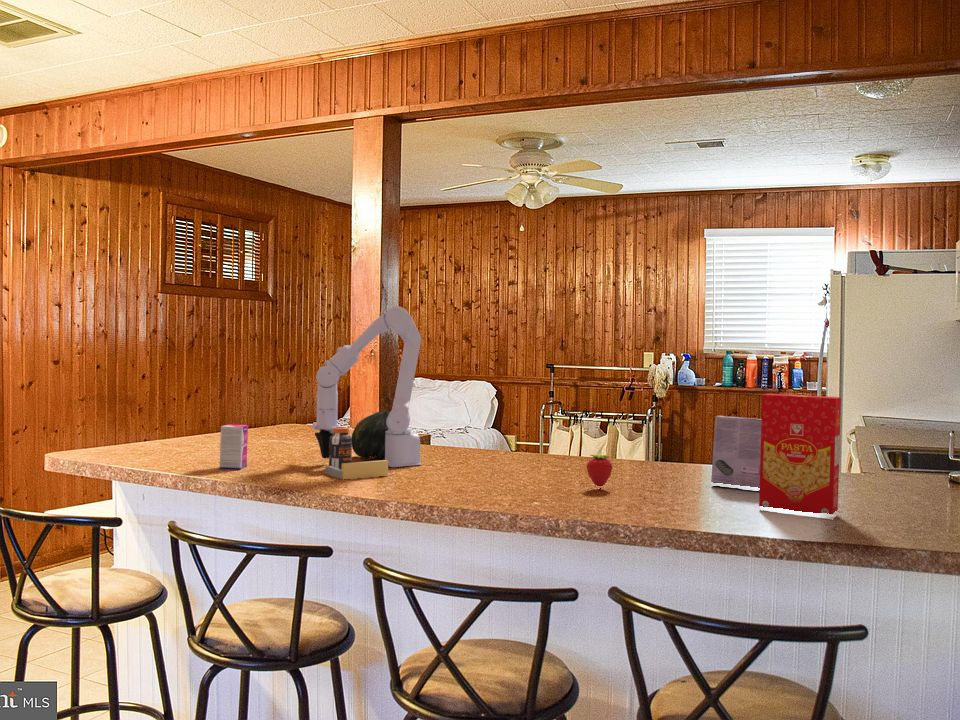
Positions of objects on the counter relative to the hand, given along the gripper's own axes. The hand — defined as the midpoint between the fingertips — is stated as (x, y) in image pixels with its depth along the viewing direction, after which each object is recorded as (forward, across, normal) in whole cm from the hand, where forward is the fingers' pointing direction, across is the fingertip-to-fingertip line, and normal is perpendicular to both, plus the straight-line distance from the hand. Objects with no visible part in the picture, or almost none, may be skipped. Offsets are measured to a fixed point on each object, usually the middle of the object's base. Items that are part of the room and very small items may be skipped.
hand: (326, 457), depth 225 cm
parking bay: (+2, +19, 0) cm, 19 cm away
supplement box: (+2, -6, -24) cm, 25 cm away
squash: (+2, -4, +18) cm, 19 cm away
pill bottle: (+2, +9, 0) cm, 9 cm away
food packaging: (+2, +106, +61) cm, 122 cm away
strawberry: (+2, +65, +42) cm, 77 cm away
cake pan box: (+2, +84, +75) cm, 113 cm away
